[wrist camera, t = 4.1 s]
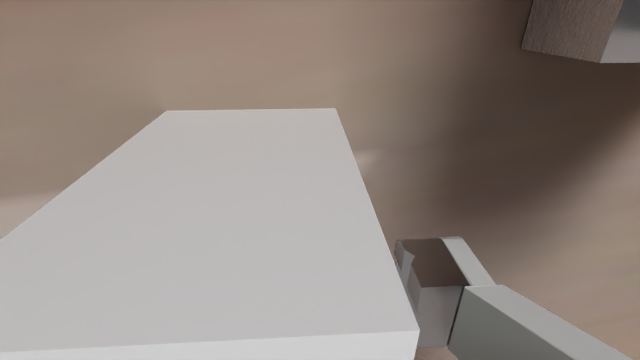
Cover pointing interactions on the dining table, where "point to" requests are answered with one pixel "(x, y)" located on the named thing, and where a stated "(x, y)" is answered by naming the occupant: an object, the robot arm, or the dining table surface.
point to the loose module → (209, 250)
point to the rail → (585, 29)
